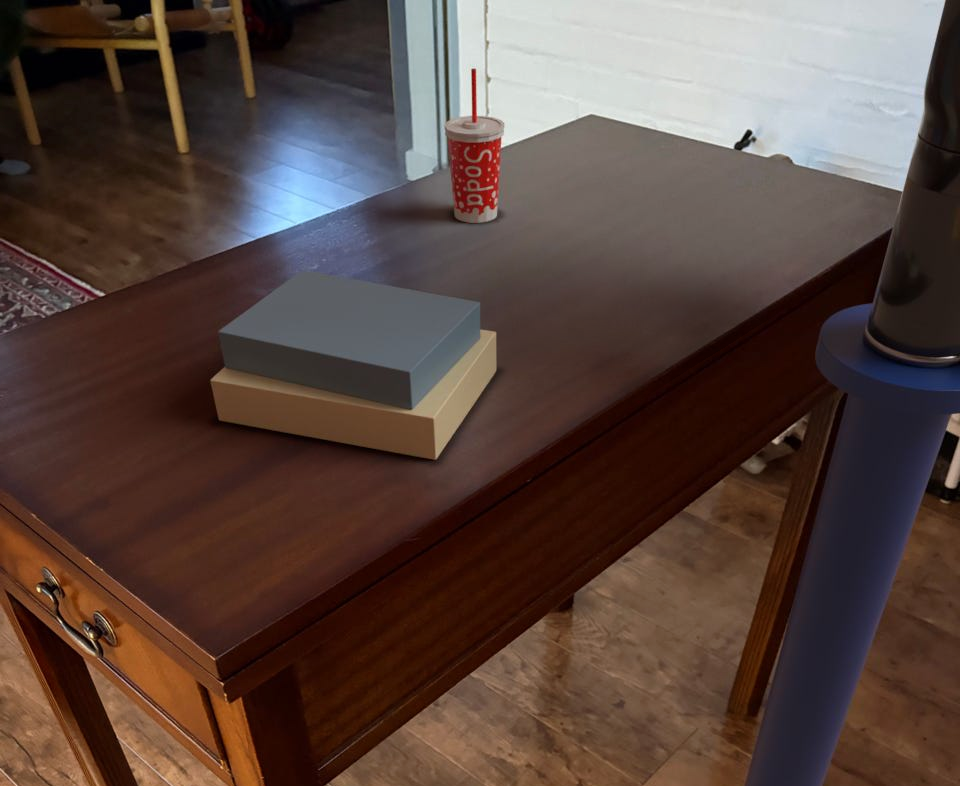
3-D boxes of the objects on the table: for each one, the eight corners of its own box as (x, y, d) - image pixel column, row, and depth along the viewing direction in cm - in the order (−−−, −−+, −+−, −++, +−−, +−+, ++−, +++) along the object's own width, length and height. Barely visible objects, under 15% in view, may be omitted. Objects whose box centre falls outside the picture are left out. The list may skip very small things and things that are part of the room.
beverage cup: (440, 222, 107) (434, 75, 97) (456, 202, 111) (452, 59, 101) (496, 227, 105) (495, 79, 96) (510, 207, 110) (511, 62, 100)
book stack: (496, 371, 83) (496, 295, 78) (436, 460, 73) (432, 379, 69) (300, 340, 87) (289, 266, 83) (218, 420, 78) (201, 342, 73)
